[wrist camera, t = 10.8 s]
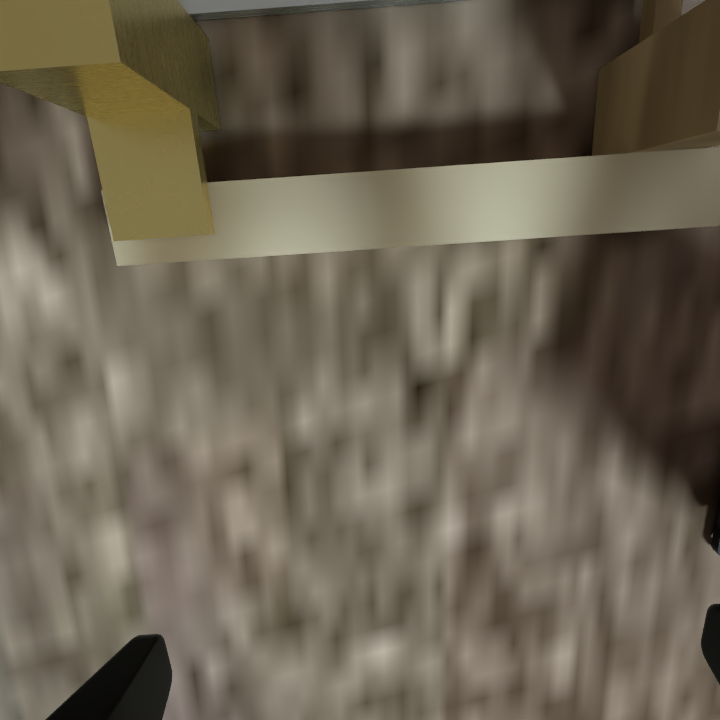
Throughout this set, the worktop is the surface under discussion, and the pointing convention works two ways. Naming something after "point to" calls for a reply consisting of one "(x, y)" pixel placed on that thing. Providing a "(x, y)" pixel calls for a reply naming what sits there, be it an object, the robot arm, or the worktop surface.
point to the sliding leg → (125, 100)
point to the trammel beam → (507, 172)
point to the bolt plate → (280, 6)
